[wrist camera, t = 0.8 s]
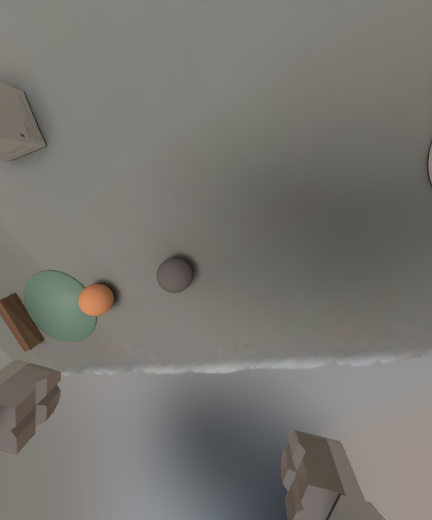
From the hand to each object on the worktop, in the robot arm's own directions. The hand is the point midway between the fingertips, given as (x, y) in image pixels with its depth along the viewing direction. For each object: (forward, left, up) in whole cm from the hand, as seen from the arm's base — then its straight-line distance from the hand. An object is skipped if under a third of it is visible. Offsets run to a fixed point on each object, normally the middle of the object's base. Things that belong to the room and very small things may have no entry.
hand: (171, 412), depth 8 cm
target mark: (+34, +2, -28) cm, 44 cm away
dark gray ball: (+10, +2, -25) cm, 27 cm away
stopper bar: (+42, +2, -28) cm, 50 cm away
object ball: (+24, +2, -25) cm, 35 cm away
